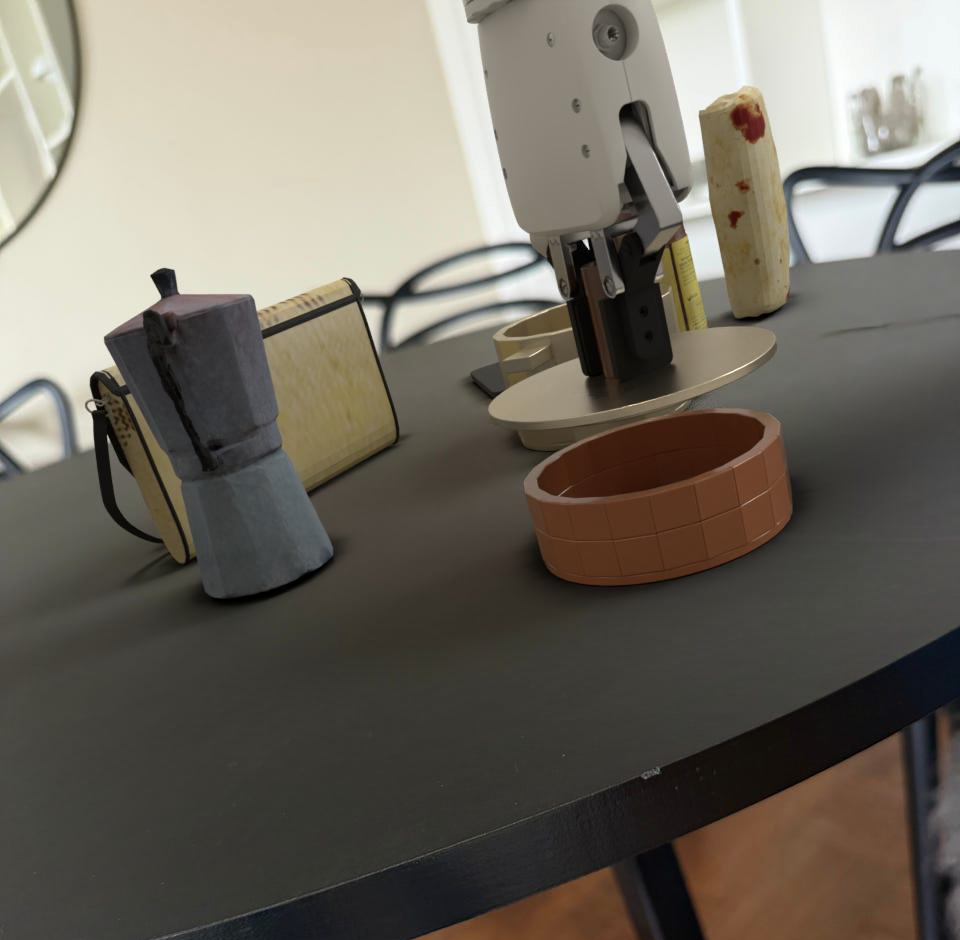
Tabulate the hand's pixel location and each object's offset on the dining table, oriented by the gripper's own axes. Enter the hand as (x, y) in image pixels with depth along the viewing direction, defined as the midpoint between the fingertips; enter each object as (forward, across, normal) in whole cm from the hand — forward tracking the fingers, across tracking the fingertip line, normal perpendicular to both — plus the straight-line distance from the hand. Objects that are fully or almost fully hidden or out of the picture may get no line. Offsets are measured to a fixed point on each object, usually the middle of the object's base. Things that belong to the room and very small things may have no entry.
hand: (627, 367), depth 52 cm
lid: (+1, 0, 0) cm, 1 cm away
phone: (+9, +51, -16) cm, 54 cm away
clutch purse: (+9, +39, +13) cm, 42 cm away
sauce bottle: (+9, +31, -22) cm, 40 cm away
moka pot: (+9, +20, +18) cm, 28 cm away
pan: (+9, 0, 0) cm, 9 cm away
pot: (+9, +25, -11) cm, 29 cm away
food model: (+9, +40, -39) cm, 56 cm away
